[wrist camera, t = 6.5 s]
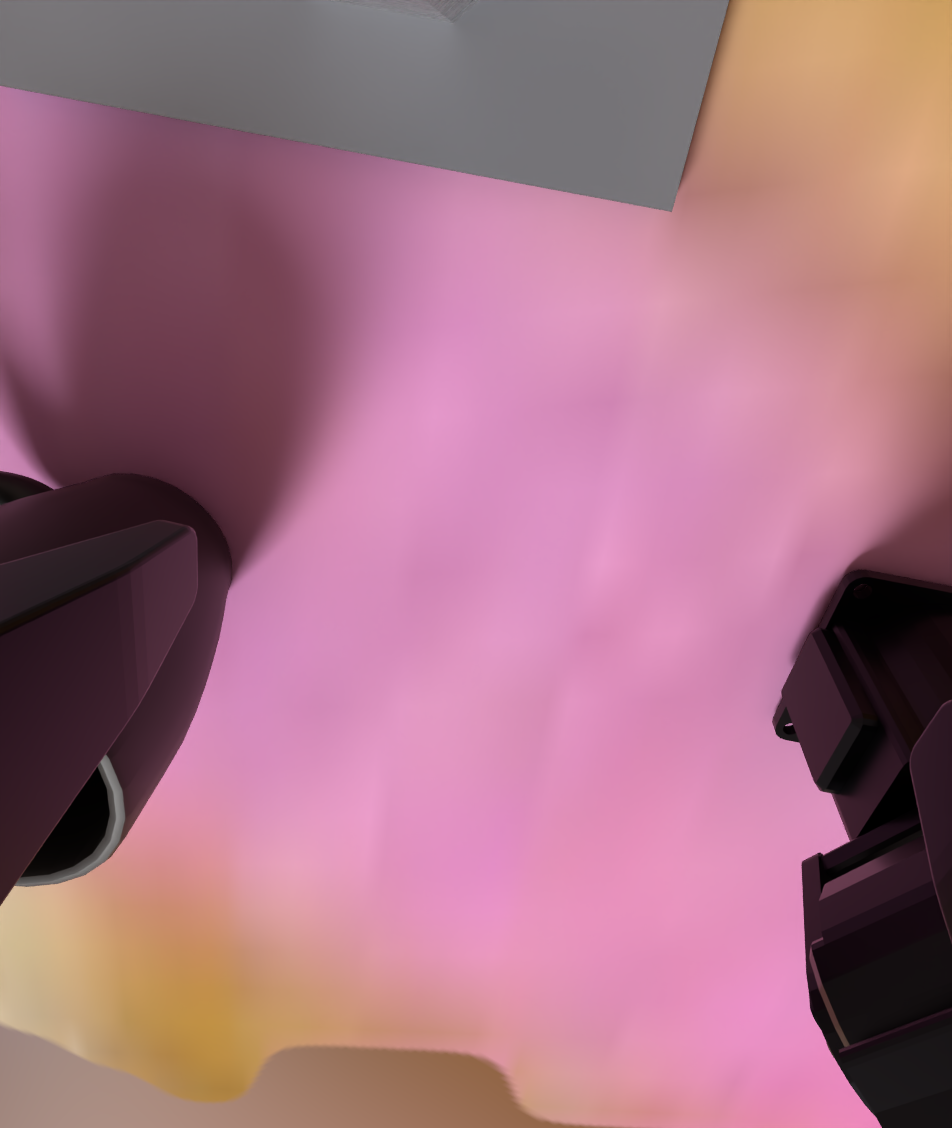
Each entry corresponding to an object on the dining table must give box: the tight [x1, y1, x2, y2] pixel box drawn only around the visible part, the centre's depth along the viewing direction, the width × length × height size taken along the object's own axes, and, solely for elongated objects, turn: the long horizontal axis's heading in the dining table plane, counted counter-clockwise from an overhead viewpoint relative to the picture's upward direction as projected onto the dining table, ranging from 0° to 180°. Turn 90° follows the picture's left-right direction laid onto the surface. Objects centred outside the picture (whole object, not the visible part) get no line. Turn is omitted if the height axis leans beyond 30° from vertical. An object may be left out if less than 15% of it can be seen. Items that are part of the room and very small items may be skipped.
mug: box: [0, 471, 232, 887], centre depth 20 cm, size 8×12×10 cm
